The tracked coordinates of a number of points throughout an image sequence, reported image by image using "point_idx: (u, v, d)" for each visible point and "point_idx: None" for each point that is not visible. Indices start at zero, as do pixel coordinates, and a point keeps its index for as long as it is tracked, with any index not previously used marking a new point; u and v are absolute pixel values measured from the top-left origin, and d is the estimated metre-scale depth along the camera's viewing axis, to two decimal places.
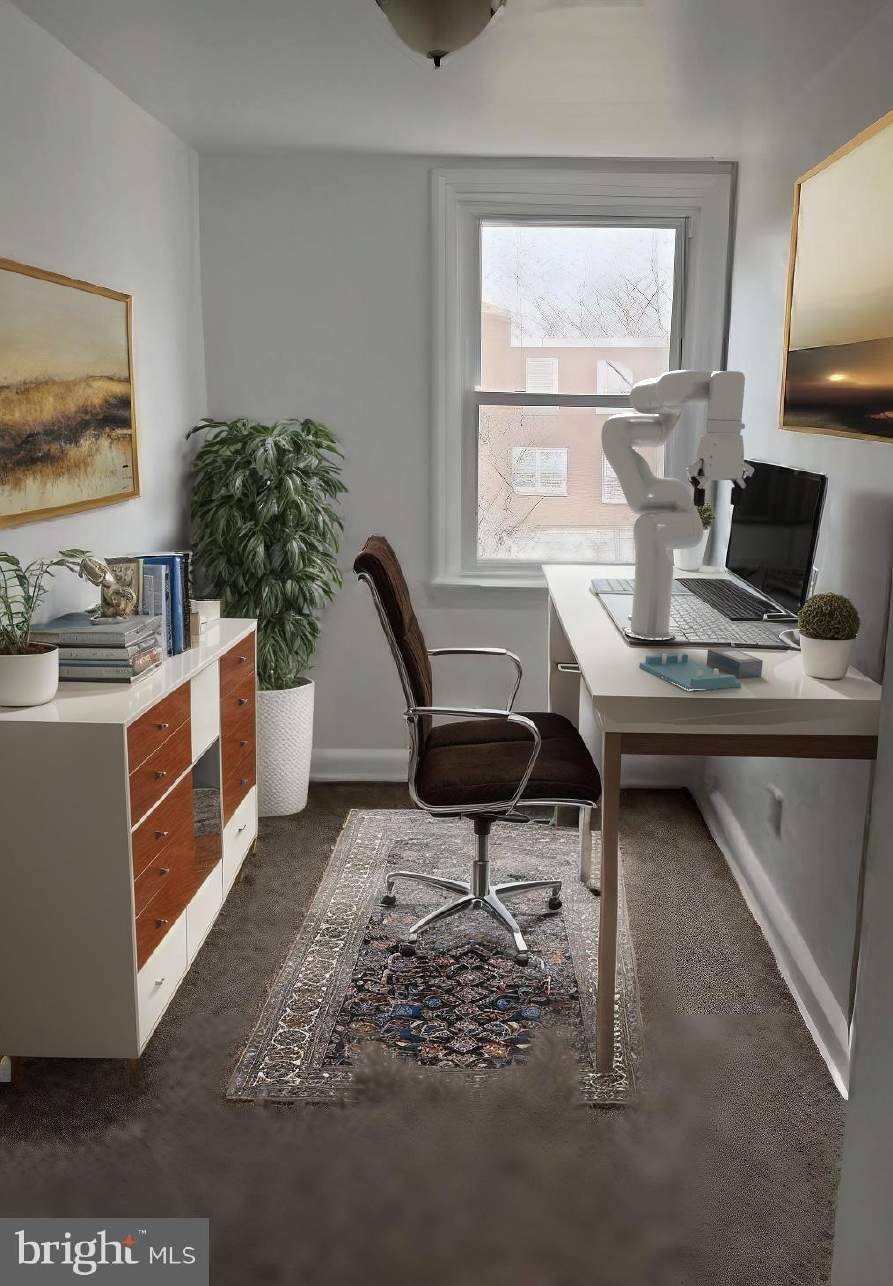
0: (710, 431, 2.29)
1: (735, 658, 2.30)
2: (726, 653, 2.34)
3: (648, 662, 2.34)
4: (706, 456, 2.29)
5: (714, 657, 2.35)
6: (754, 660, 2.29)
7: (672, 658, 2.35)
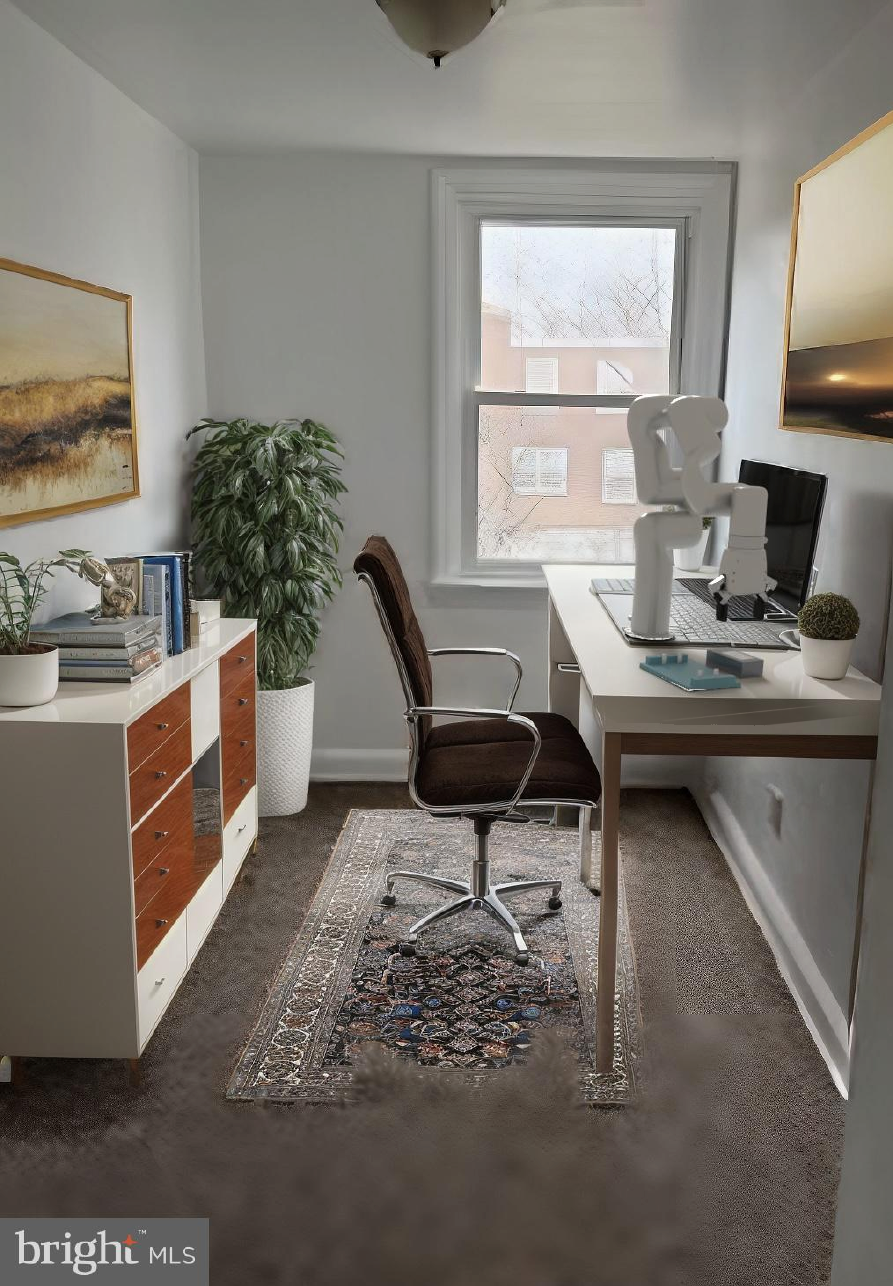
0: (733, 547, 2.25)
1: (736, 658, 2.30)
2: (726, 653, 2.34)
3: (648, 662, 2.34)
4: (729, 572, 2.25)
5: (714, 657, 2.35)
6: (755, 660, 2.29)
7: (672, 658, 2.35)
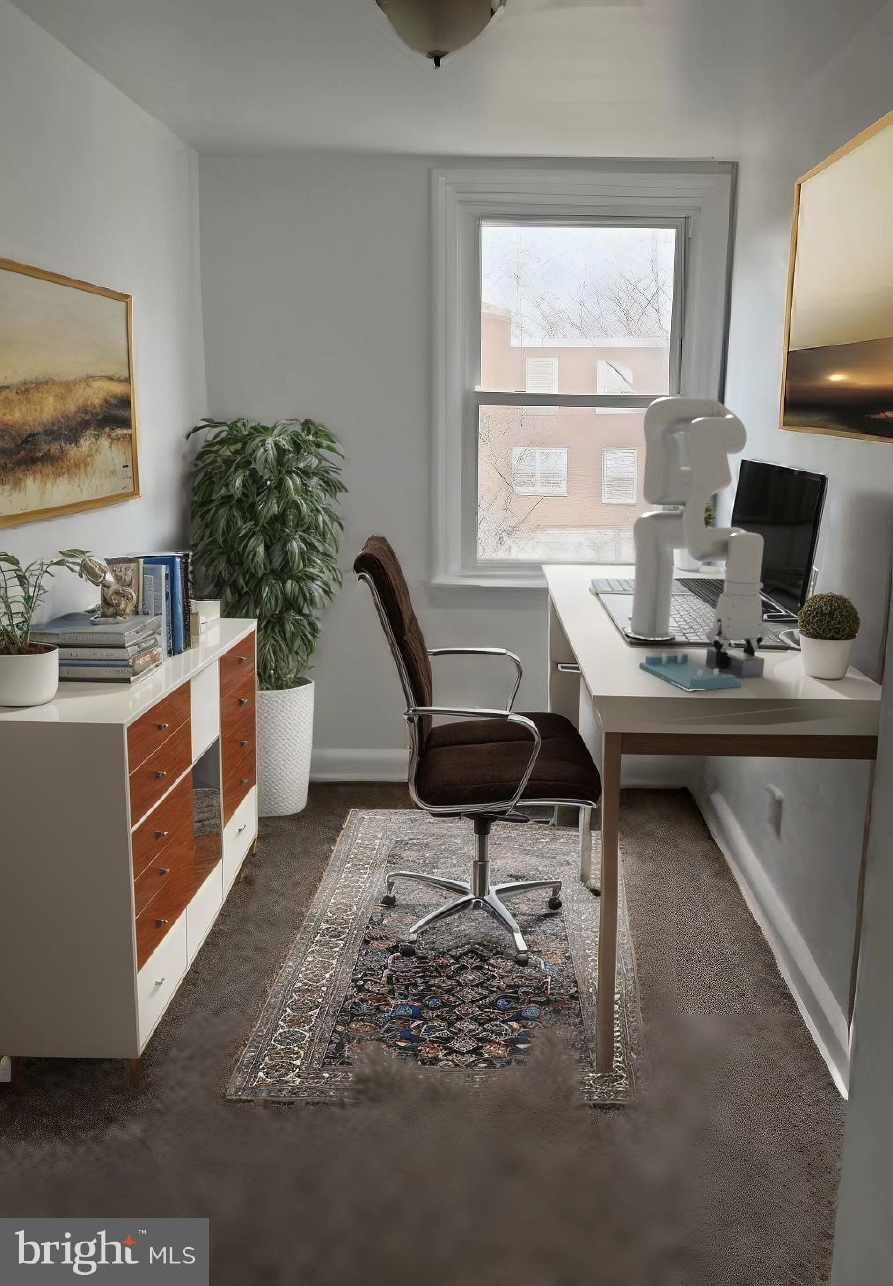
0: (728, 592, 2.28)
1: (737, 657, 2.30)
2: (727, 652, 2.33)
3: (648, 662, 2.34)
4: (724, 618, 2.28)
5: (714, 656, 2.35)
6: (756, 659, 2.29)
7: (672, 658, 2.35)
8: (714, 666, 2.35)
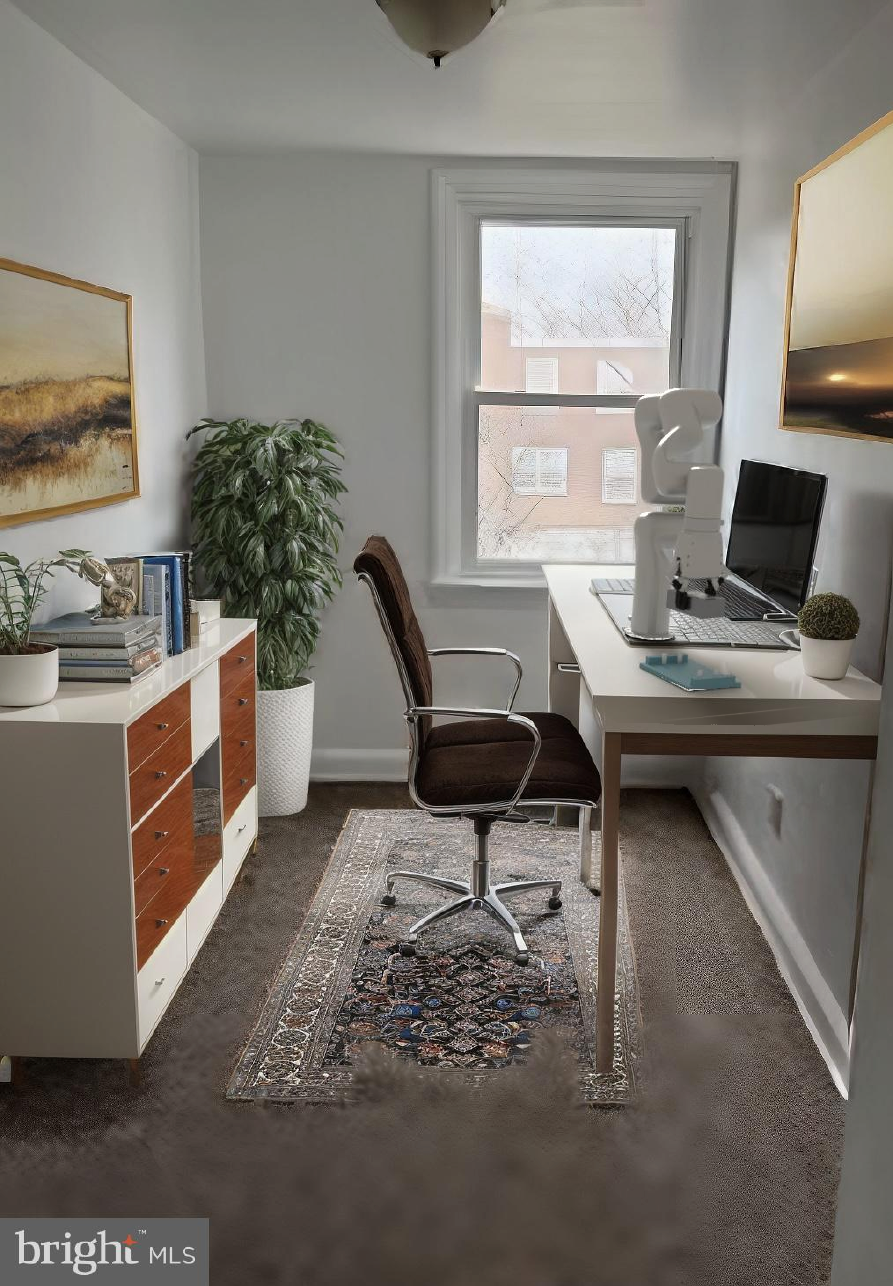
0: (688, 529, 2.18)
1: (697, 597, 2.20)
2: (687, 593, 2.24)
3: (648, 662, 2.34)
4: (683, 555, 2.18)
5: (674, 597, 2.25)
6: (717, 598, 2.19)
7: (672, 658, 2.35)
8: (674, 608, 2.26)
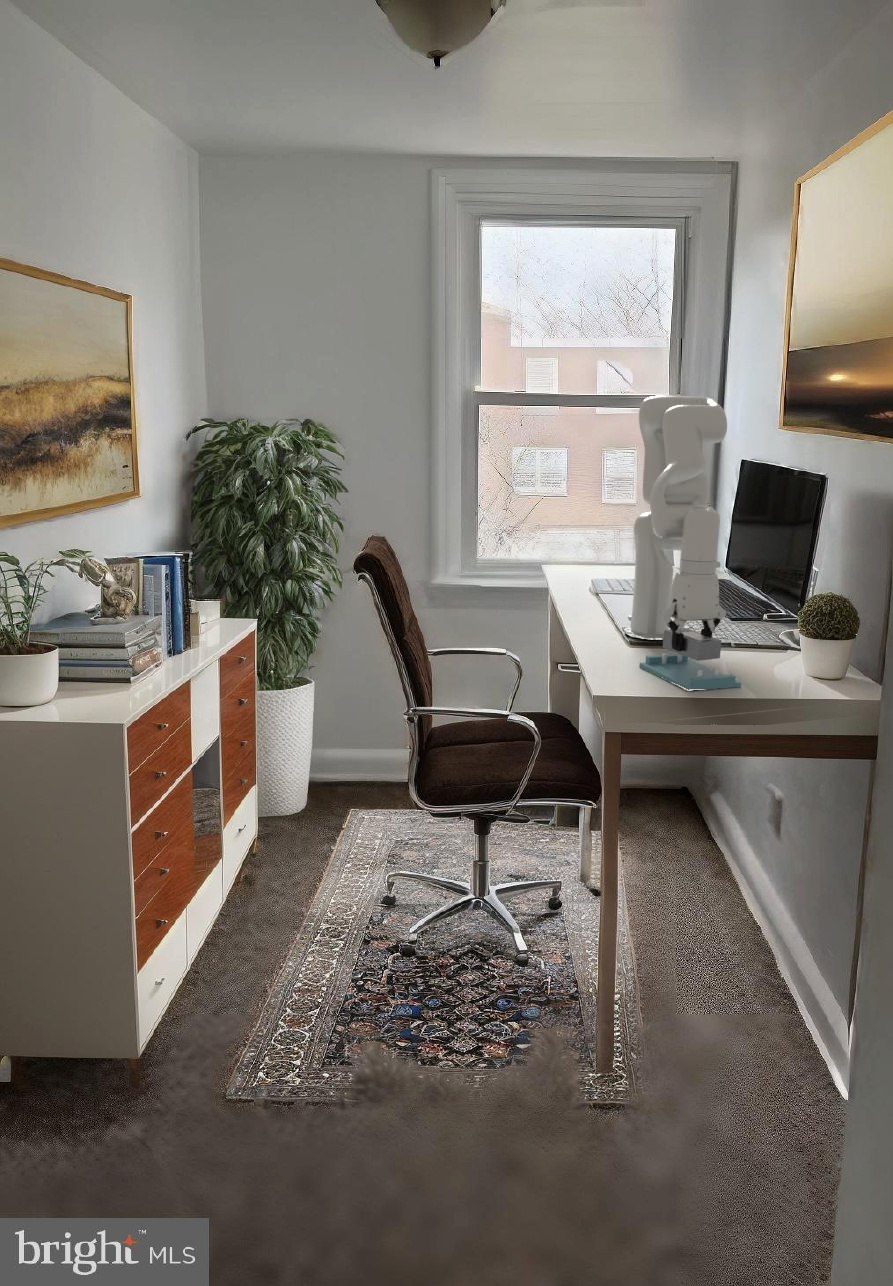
0: (684, 571, 2.20)
1: (693, 638, 2.22)
2: None
3: (648, 662, 2.34)
4: (679, 597, 2.20)
5: (671, 638, 2.27)
6: (713, 640, 2.21)
7: (672, 658, 2.35)
8: (671, 648, 2.28)
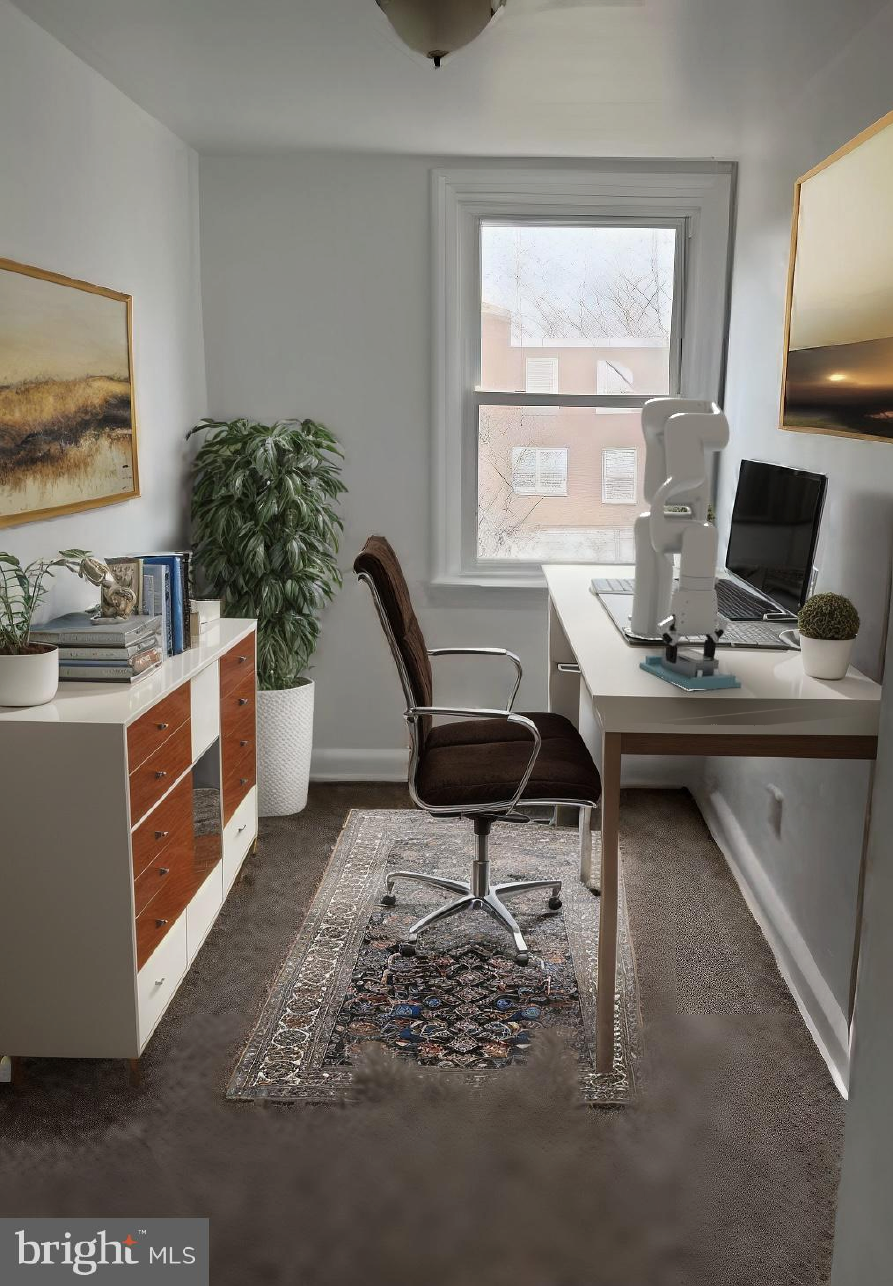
0: (682, 587, 2.21)
1: (691, 658, 2.23)
2: (681, 653, 2.27)
3: (648, 662, 2.34)
4: (678, 613, 2.21)
5: None
6: (710, 660, 2.23)
7: None
8: (669, 667, 2.29)
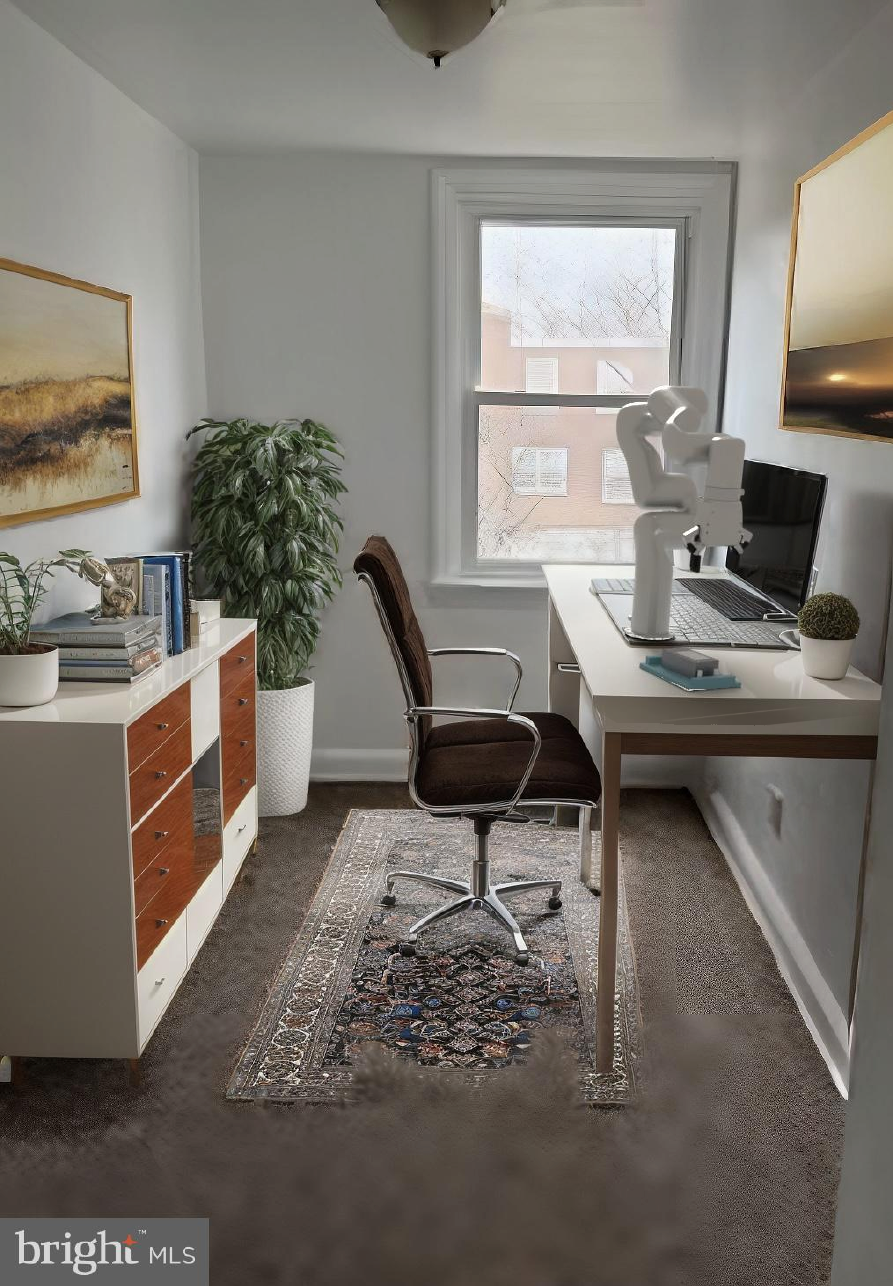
0: (708, 498, 2.26)
1: (691, 658, 2.23)
2: (681, 653, 2.27)
3: (648, 662, 2.34)
4: (703, 523, 2.26)
5: (669, 657, 2.29)
6: (710, 660, 2.23)
7: None
8: (669, 667, 2.29)
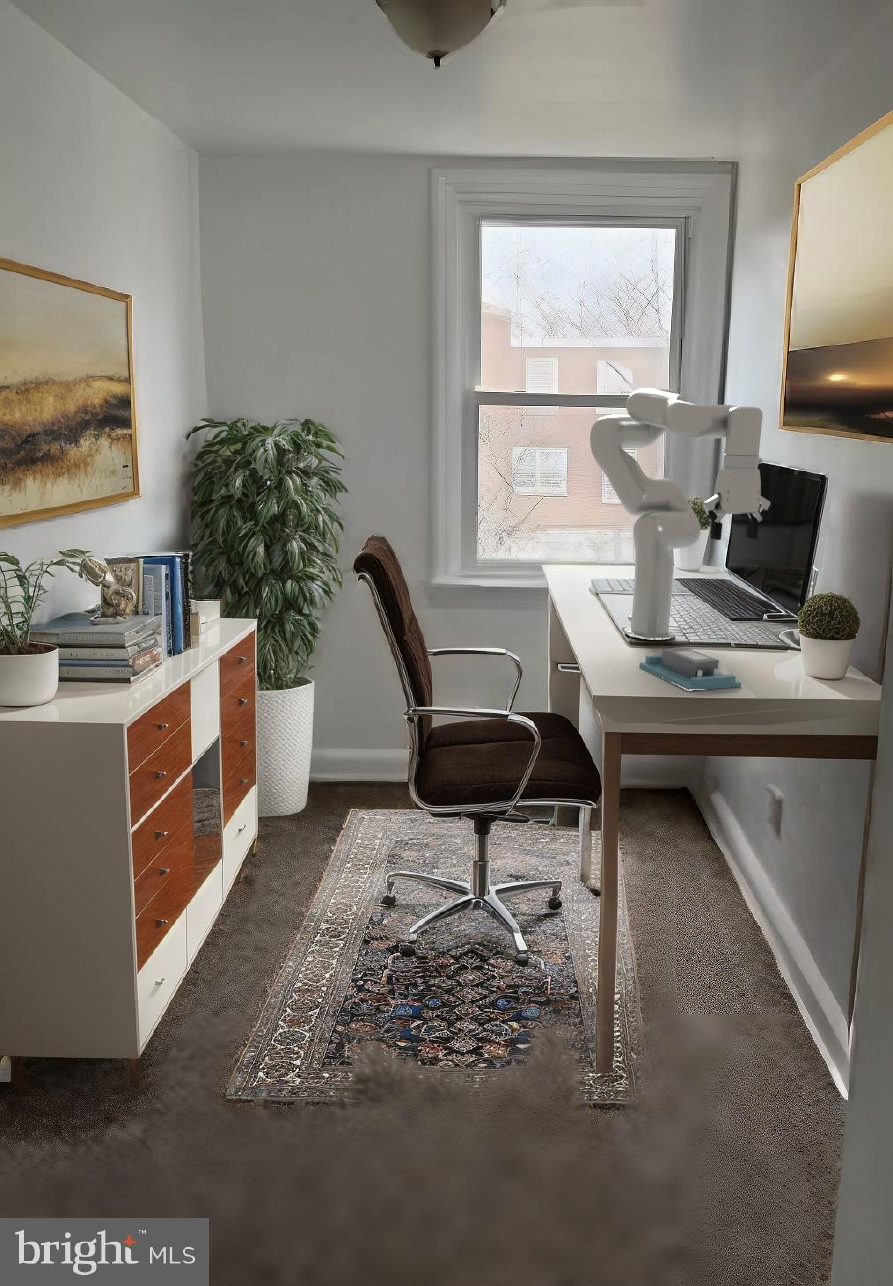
0: (728, 466, 2.32)
1: (691, 658, 2.23)
2: (681, 653, 2.27)
3: (648, 662, 2.34)
4: (723, 491, 2.32)
5: (669, 657, 2.29)
6: (710, 660, 2.23)
7: None
8: (669, 667, 2.29)
